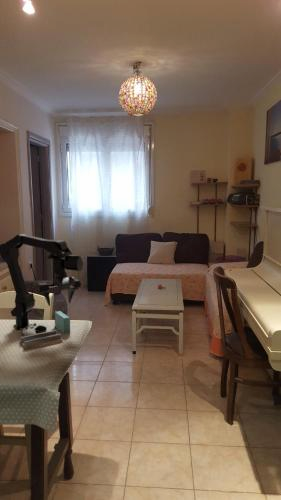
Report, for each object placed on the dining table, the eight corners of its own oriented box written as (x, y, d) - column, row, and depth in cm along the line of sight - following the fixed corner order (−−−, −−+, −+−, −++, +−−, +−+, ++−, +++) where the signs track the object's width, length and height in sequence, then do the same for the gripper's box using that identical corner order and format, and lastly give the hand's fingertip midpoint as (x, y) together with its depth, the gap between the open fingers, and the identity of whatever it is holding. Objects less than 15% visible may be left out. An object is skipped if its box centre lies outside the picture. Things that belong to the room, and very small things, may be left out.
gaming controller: (36, 337, 154) (25, 325, 154) (27, 346, 155) (16, 334, 156) (48, 328, 165) (38, 316, 165) (39, 336, 166) (29, 325, 167)
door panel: (54, 326, 170) (54, 311, 169) (59, 325, 171) (59, 310, 170) (65, 334, 160) (64, 318, 159) (70, 333, 161) (69, 317, 160)
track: (19, 342, 150) (19, 336, 150) (54, 335, 159) (54, 328, 158) (26, 350, 143) (25, 343, 142) (62, 342, 151) (62, 335, 151)
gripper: (43, 275, 147) (44, 312, 149) (86, 270, 157) (86, 306, 159) (35, 270, 156) (36, 305, 158) (76, 266, 166) (76, 299, 168)
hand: (59, 304), depth 161 cm, fingers open, 9 cm apart
